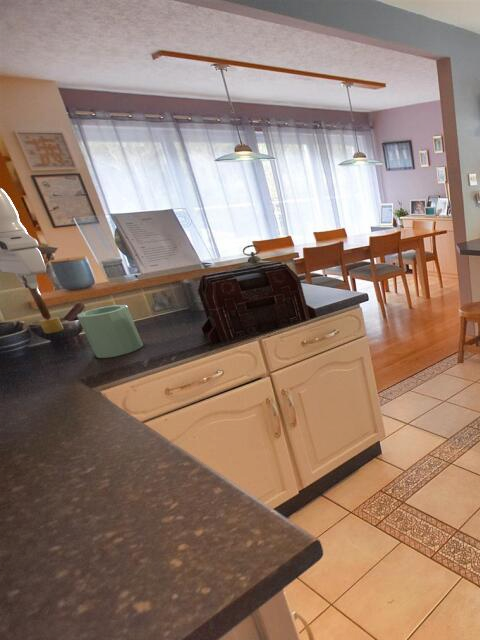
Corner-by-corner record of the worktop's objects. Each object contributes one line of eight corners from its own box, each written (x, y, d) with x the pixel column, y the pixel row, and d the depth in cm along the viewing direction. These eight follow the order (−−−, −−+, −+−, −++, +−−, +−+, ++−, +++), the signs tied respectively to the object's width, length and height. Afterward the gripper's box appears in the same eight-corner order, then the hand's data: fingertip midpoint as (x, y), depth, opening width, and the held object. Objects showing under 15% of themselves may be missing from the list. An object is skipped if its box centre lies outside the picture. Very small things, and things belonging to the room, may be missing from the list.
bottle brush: (48, 334, 135) (19, 276, 128) (41, 332, 136) (12, 276, 129) (66, 329, 138) (38, 272, 131) (59, 327, 140) (32, 272, 133)
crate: (301, 308, 178) (288, 257, 170) (319, 317, 165) (305, 262, 157) (202, 333, 156) (181, 276, 148) (212, 345, 143) (191, 284, 135)
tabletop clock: (255, 309, 181) (237, 249, 172) (244, 306, 186) (225, 248, 177) (287, 299, 192) (272, 242, 183) (276, 297, 197) (260, 241, 188)
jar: (108, 359, 138) (89, 318, 132) (88, 355, 142) (69, 315, 137) (150, 345, 148) (134, 306, 142) (130, 341, 153) (114, 303, 147)
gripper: (-22, 243, 128) (2, 288, 133) (9, 244, 120) (33, 292, 125) (8, 239, 133) (30, 283, 139) (39, 240, 125) (61, 286, 130)
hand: (32, 287), depth 132 cm, fingers closed on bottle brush, 2 cm apart
